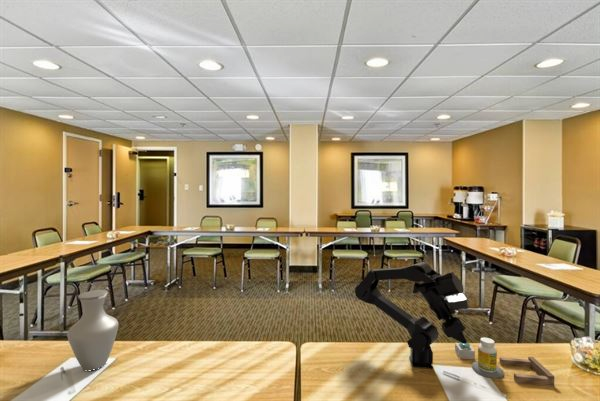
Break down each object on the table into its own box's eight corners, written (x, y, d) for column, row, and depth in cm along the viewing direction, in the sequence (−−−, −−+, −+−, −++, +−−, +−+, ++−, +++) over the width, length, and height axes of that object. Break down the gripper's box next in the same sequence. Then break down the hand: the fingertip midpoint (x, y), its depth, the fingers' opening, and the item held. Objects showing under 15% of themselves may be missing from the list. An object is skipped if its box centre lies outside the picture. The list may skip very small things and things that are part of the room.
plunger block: (459, 358, 109) (459, 349, 109) (455, 350, 114) (455, 342, 114) (474, 359, 108) (475, 351, 108) (469, 352, 113) (469, 344, 113)
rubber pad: (478, 377, 98) (478, 375, 98) (467, 361, 107) (467, 360, 107) (509, 380, 96) (509, 378, 96) (496, 364, 105) (496, 362, 105)
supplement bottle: (482, 362, 105) (483, 334, 105) (499, 369, 101) (500, 341, 101) (474, 367, 102) (474, 339, 102) (491, 375, 98) (492, 345, 98)
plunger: (461, 355, 110) (461, 345, 110) (458, 350, 113) (458, 341, 113) (471, 356, 109) (471, 346, 109) (467, 351, 112) (467, 342, 112)
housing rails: (516, 382, 95) (516, 373, 95) (499, 362, 106) (499, 354, 106) (554, 386, 93) (554, 376, 93) (533, 365, 104) (533, 357, 104)
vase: (128, 355, 111) (127, 287, 110) (98, 380, 96) (96, 302, 96) (91, 353, 112) (90, 286, 111) (56, 377, 98) (54, 300, 97)
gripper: (465, 299, 92) (495, 340, 93) (447, 275, 110) (472, 309, 111) (432, 317, 95) (461, 357, 95) (420, 290, 113) (444, 323, 114)
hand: (460, 334), depth 104 cm, fingers open, 9 cm apart
